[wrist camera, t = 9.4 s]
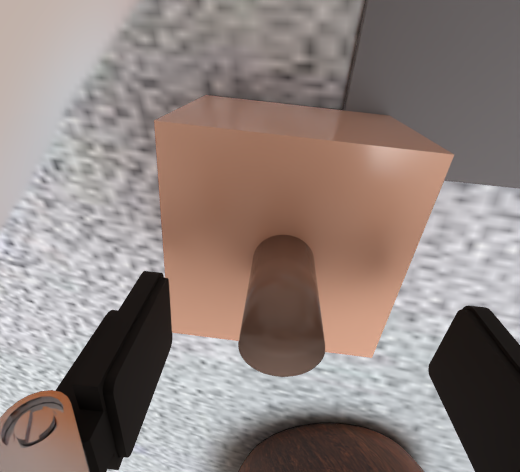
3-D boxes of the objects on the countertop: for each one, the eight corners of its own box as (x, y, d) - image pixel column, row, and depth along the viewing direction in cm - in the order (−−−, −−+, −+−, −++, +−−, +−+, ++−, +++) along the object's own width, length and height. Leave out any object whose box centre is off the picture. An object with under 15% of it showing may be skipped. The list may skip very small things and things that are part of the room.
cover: (205, 94, 19) (77, 158, 8) (389, 115, 19) (552, 213, 7) (204, 249, 25) (130, 423, 13) (346, 266, 25) (399, 458, 13)
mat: (392, -129, 15) (396, -136, 14) (686, -94, 15) (701, -100, 14) (331, 166, 21) (332, 168, 21) (534, 187, 22) (541, 190, 21)
